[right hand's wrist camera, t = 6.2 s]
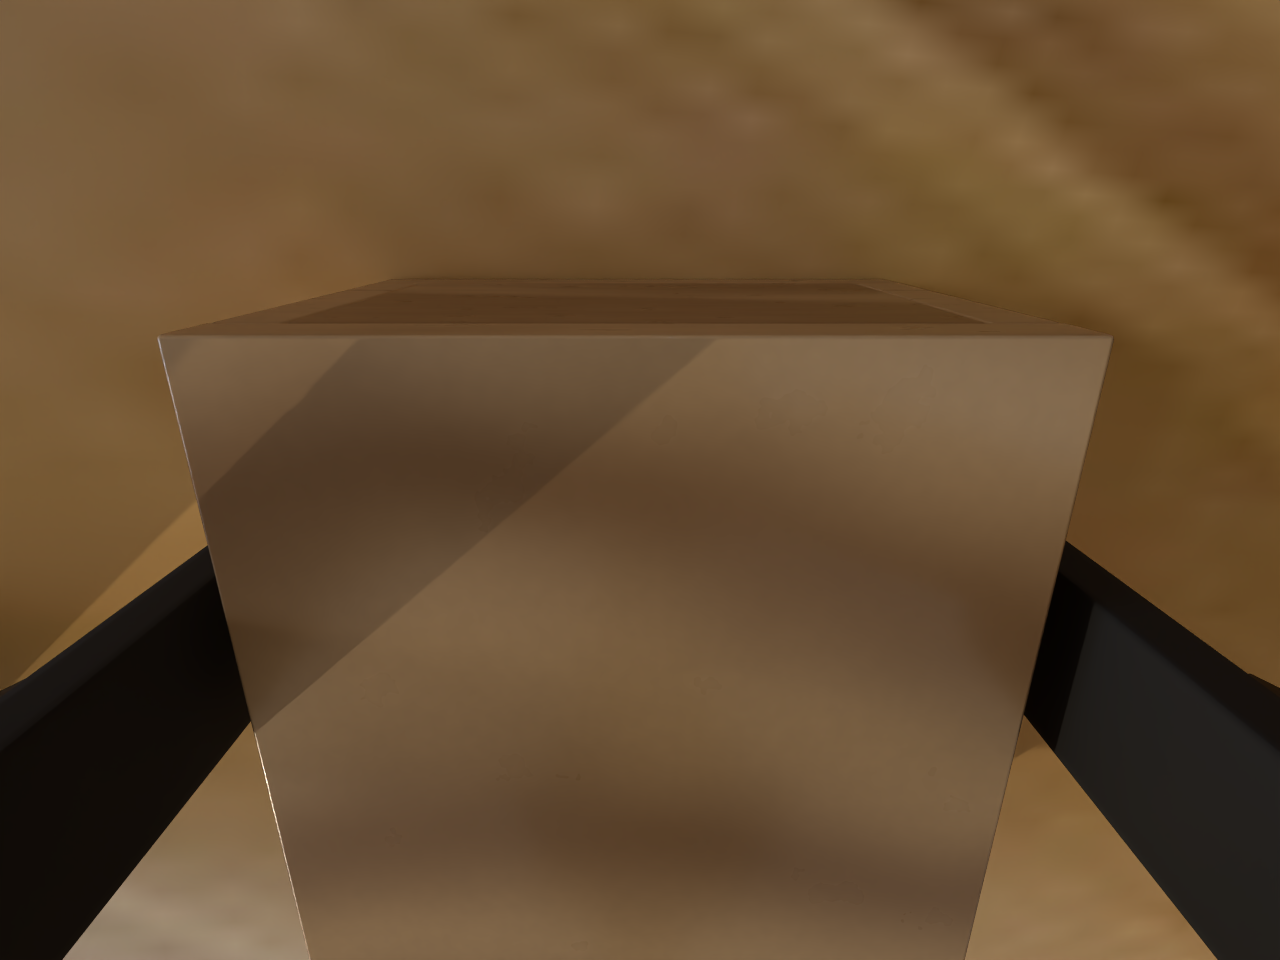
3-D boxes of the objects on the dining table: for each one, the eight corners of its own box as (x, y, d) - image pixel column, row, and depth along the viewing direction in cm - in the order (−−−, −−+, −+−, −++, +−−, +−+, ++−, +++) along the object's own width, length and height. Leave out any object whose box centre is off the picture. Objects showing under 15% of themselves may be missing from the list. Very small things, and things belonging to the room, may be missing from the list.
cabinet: (819, 836, 22) (915, 1169, 14) (458, 835, 22) (359, 1168, 14) (887, 279, 16) (1116, 335, 8) (389, 278, 16) (153, 334, 8)
